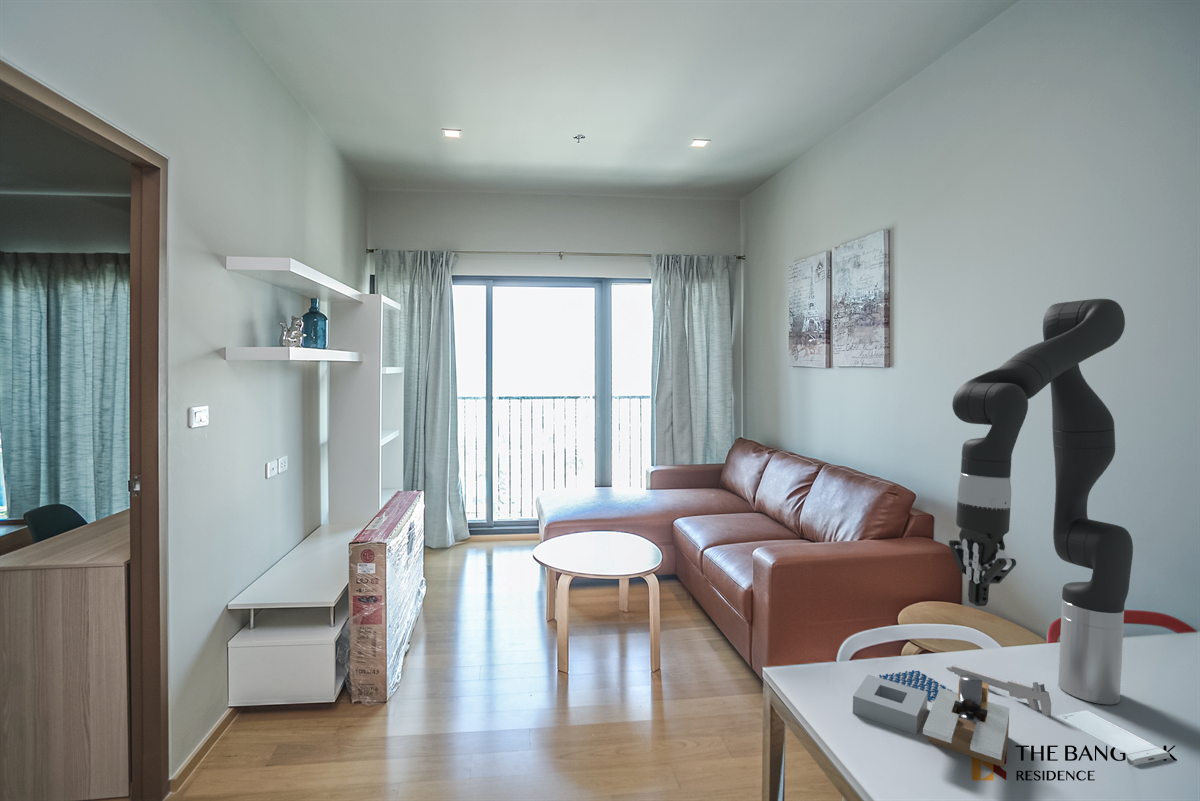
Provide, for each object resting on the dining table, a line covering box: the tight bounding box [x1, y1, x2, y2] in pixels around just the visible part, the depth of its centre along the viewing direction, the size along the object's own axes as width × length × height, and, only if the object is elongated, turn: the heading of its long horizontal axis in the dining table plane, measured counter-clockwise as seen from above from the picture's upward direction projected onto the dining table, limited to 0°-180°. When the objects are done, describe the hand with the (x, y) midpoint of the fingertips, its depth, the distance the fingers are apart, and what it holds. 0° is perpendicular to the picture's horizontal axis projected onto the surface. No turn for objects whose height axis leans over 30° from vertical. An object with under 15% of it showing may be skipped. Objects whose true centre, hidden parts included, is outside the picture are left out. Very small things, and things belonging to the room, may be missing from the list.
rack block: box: [852, 674, 929, 735], centre depth 105 cm, size 10×10×4 cm
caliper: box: [945, 664, 1052, 717], centre depth 114 cm, size 20×1×6 cm, turn 19°
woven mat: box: [878, 669, 954, 702], centre depth 114 cm, size 10×11×2 cm
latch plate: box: [922, 676, 1010, 760], centre depth 95 cm, size 16×10×4 cm, turn 142°
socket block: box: [928, 705, 1010, 768], centre depth 97 cm, size 10×10×5 cm
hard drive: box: [1055, 710, 1170, 767], centre depth 100 cm, size 2×8×12 cm
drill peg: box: [959, 674, 982, 723], centre depth 97 cm, size 3×3×10 cm
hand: (977, 604), depth 101 cm, fingers closed
